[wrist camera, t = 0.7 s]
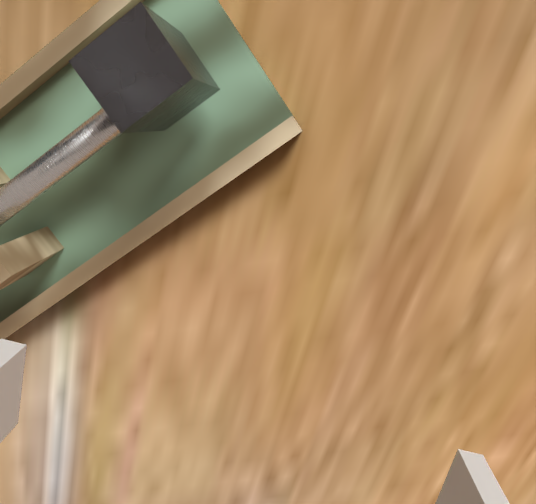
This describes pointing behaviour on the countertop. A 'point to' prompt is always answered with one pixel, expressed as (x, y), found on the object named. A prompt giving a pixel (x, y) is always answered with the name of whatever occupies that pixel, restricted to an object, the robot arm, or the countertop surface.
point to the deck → (122, 155)
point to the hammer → (120, 97)
